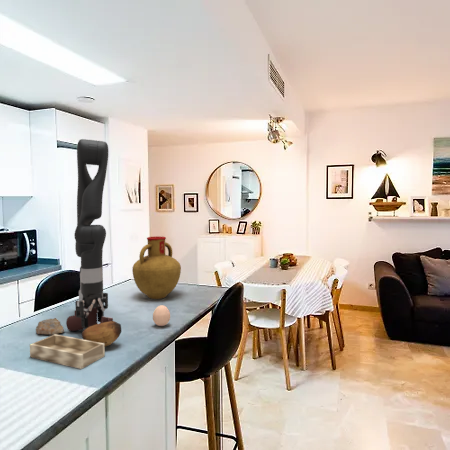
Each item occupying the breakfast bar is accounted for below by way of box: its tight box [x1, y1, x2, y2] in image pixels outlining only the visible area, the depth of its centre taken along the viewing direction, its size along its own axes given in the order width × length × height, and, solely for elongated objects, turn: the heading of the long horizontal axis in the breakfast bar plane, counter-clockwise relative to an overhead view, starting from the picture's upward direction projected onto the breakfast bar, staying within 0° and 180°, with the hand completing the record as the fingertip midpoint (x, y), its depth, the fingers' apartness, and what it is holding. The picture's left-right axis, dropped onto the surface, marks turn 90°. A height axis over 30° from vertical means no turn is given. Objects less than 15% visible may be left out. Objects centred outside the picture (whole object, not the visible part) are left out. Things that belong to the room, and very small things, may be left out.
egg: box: [152, 304, 171, 327], centre depth 142 cm, size 7×7×8 cm
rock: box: [35, 317, 65, 336], centre depth 136 cm, size 9×6×10 cm
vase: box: [131, 235, 182, 300], centre depth 185 cm, size 24×24×30 cm
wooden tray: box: [29, 334, 106, 370], centre depth 114 cm, size 21×10×4 cm, turn 67°
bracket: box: [65, 307, 114, 332], centre depth 135 cm, size 6×17×10 cm, turn 77°
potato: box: [81, 320, 122, 348], centre depth 122 cm, size 8×14×8 cm
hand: (93, 324), depth 135 cm, fingers closed on bracket, 7 cm apart
